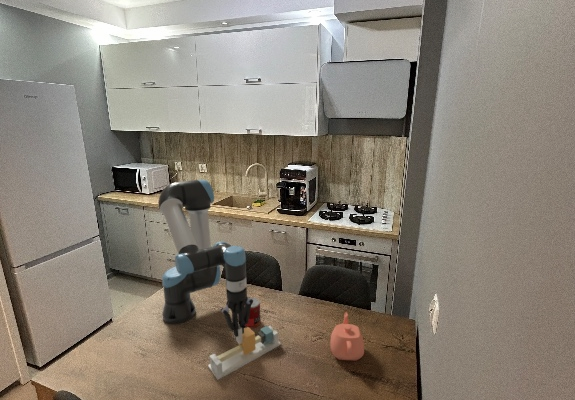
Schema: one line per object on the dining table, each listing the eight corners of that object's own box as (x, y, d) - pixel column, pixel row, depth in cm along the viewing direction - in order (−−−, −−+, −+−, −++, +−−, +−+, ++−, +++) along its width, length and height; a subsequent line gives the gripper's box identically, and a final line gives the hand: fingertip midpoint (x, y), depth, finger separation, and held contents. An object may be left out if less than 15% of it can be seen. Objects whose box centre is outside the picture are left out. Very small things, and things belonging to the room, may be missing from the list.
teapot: (359, 335, 136) (361, 311, 133) (366, 371, 117) (368, 344, 114) (329, 334, 137) (329, 309, 134) (330, 369, 118) (331, 342, 115)
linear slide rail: (208, 366, 120) (206, 351, 118) (269, 334, 137) (269, 321, 135) (217, 380, 114) (216, 364, 112) (280, 344, 131) (280, 330, 129)
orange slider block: (238, 348, 125) (237, 331, 123) (249, 342, 128) (248, 326, 126) (244, 355, 122) (244, 338, 120) (255, 349, 125) (254, 333, 123)
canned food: (257, 329, 141) (257, 307, 138) (241, 327, 143) (240, 305, 140) (262, 318, 148) (261, 298, 145) (246, 316, 150) (245, 296, 147)
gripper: (225, 298, 109) (229, 354, 115) (256, 285, 117) (258, 339, 123) (215, 289, 115) (219, 343, 121) (246, 278, 123) (248, 329, 129)
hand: (239, 341), depth 122 cm, fingers closed
